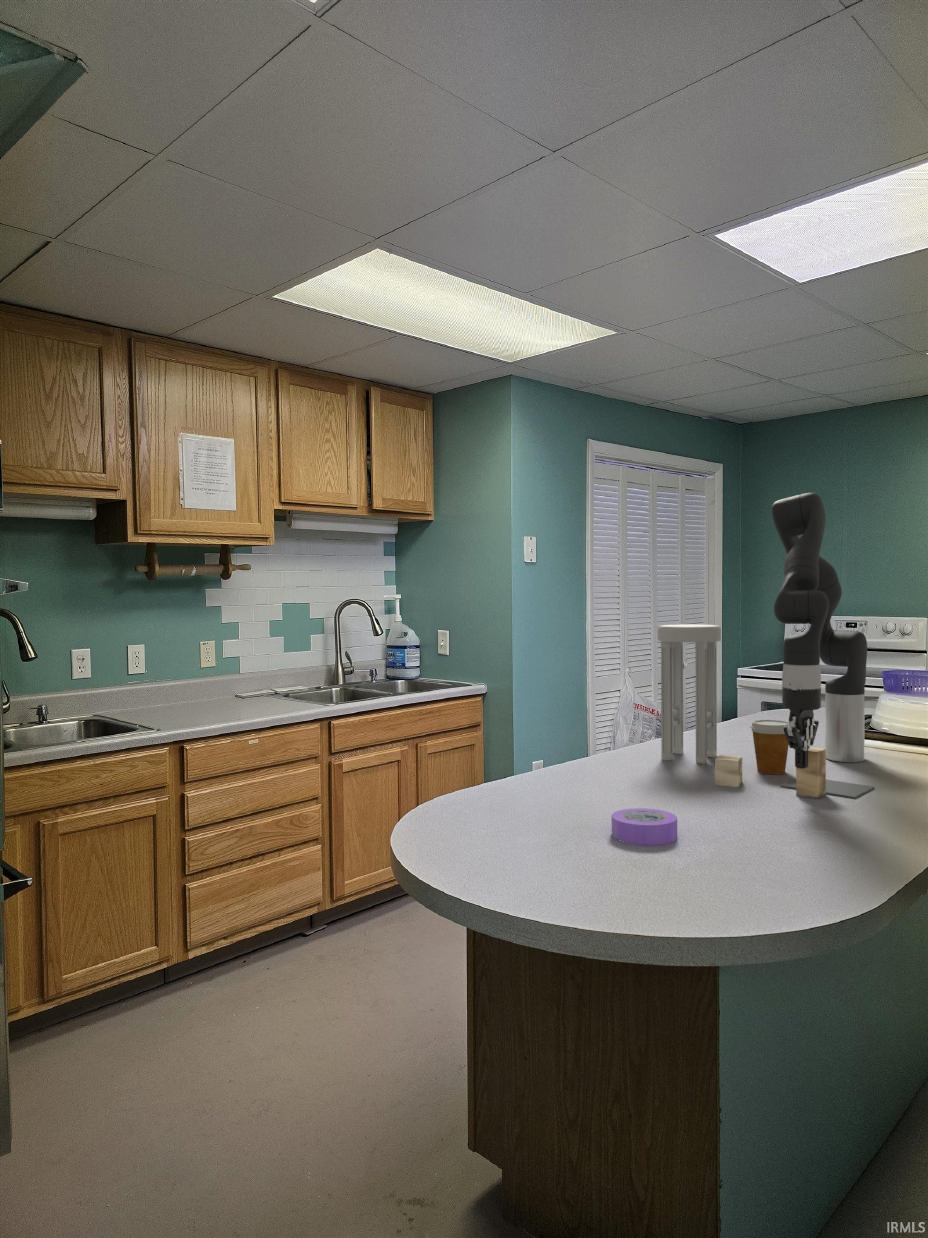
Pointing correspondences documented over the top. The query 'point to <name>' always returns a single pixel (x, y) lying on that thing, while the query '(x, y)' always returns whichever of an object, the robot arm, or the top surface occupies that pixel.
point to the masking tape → (644, 826)
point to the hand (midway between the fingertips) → (801, 767)
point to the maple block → (728, 770)
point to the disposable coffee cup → (770, 745)
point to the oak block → (812, 775)
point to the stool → (673, 688)
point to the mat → (838, 788)
